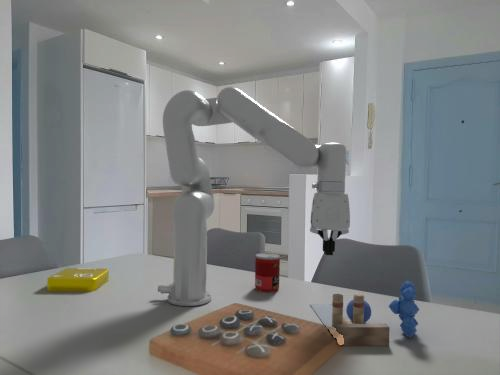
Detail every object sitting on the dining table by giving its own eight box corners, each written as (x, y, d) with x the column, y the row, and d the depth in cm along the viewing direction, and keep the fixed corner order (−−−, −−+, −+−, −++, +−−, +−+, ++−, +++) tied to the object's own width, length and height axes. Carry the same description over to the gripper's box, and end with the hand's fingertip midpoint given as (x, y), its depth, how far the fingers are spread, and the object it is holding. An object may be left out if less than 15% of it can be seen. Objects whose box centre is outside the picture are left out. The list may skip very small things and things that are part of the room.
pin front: (338, 325, 93) (349, 339, 84) (340, 315, 93) (351, 328, 84) (348, 327, 93) (360, 341, 84) (349, 317, 93) (362, 330, 84)
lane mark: (334, 339, 85) (334, 338, 85) (310, 304, 109) (310, 304, 109) (373, 339, 85) (373, 338, 85) (341, 304, 109) (341, 304, 109)
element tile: (110, 280, 132) (110, 267, 132) (94, 293, 117) (94, 277, 117) (66, 280, 131) (66, 266, 131) (44, 292, 116) (44, 277, 116)
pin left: (333, 333, 88) (334, 296, 88) (330, 329, 91) (331, 293, 91) (343, 333, 88) (344, 296, 88) (340, 329, 91) (341, 293, 91)
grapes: (386, 322, 96) (387, 275, 96) (415, 326, 94) (416, 277, 94) (389, 340, 85) (390, 286, 85) (422, 344, 83) (424, 289, 83)
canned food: (277, 293, 120) (278, 258, 120) (252, 291, 122) (253, 256, 122) (280, 286, 128) (281, 253, 127) (257, 284, 129) (257, 252, 129)
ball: (368, 297, 93) (347, 291, 97) (359, 319, 90) (338, 313, 95) (378, 308, 96) (357, 302, 100) (370, 330, 93) (349, 324, 98)
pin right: (354, 333, 89) (355, 296, 88) (351, 329, 91) (351, 293, 91) (365, 333, 89) (366, 296, 89) (361, 329, 91) (362, 293, 91)
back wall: (338, 345, 81) (339, 327, 81) (336, 342, 83) (336, 323, 83) (389, 345, 82) (389, 327, 82) (385, 341, 84) (385, 323, 84)
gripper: (307, 187, 101) (304, 256, 102) (362, 189, 102) (359, 257, 103) (301, 187, 109) (299, 251, 109) (352, 188, 110) (350, 252, 110)
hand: (328, 254), depth 106 cm, fingers closed
